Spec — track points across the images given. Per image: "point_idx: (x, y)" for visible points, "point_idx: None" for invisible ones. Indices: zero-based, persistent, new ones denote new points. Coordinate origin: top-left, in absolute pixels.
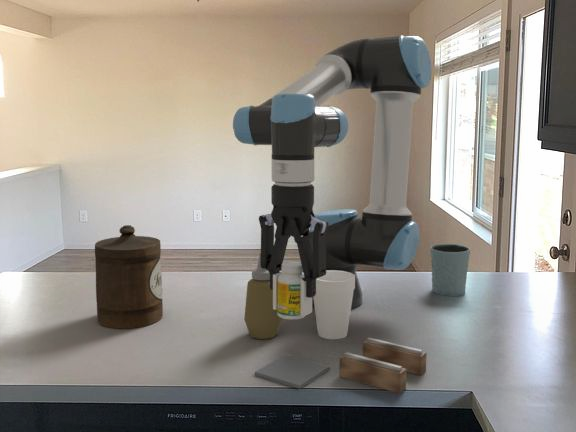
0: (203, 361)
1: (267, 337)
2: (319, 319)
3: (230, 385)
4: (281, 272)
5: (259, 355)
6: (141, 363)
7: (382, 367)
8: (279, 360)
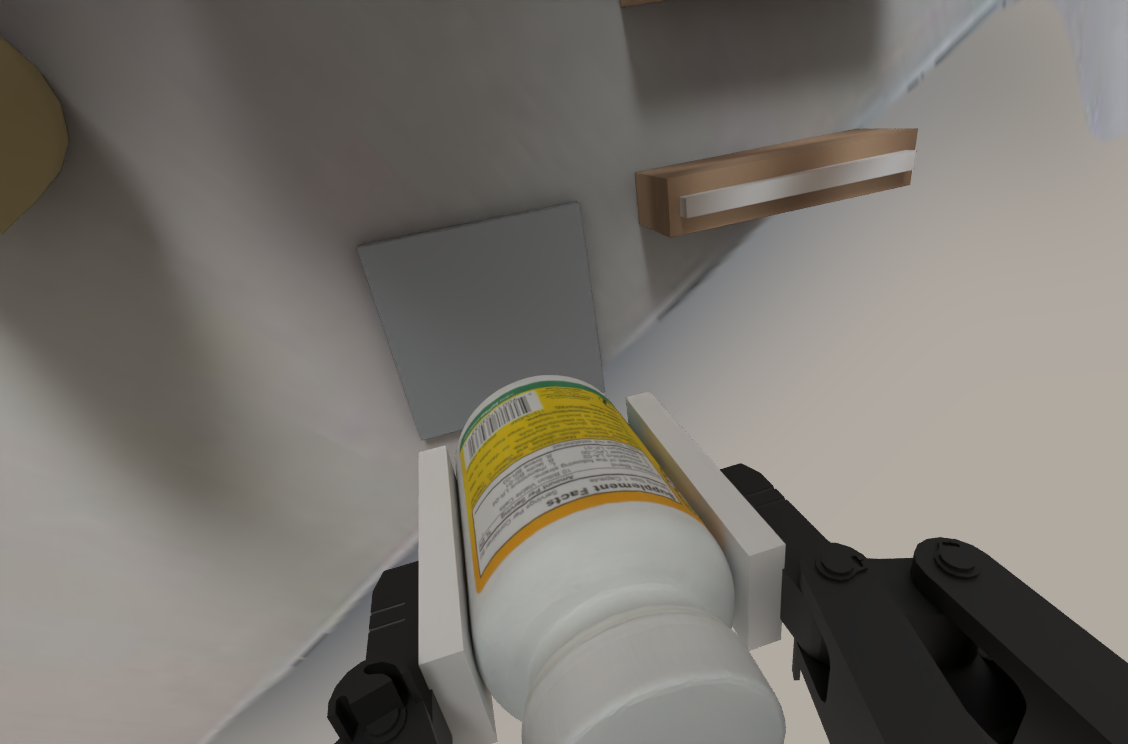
0: (186, 510)
1: (65, 151)
2: None
3: None
4: (449, 678)
5: (264, 319)
6: (71, 665)
7: (841, 188)
8: (397, 315)
